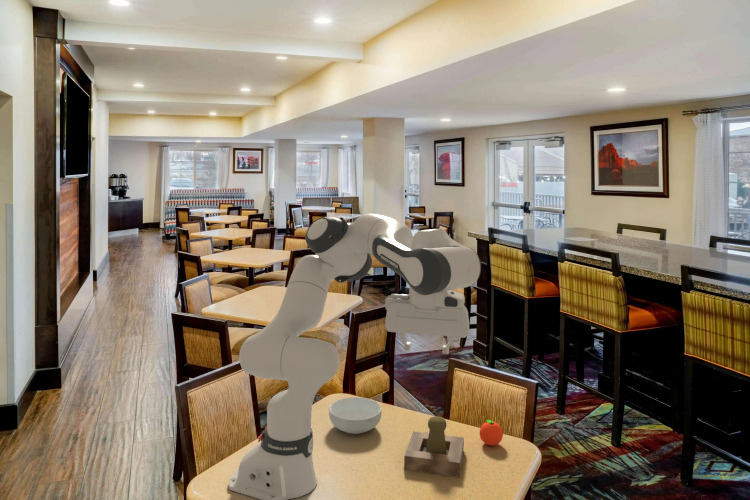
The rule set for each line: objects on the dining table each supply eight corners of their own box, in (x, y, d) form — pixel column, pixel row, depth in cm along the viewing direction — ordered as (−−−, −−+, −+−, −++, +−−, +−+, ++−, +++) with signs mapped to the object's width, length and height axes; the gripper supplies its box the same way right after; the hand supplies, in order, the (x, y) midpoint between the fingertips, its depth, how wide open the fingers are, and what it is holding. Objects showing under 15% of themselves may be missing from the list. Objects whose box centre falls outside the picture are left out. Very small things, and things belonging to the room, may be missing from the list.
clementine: (473, 439, 167) (474, 417, 166) (493, 436, 169) (493, 414, 168) (486, 451, 159) (487, 428, 158) (507, 448, 161) (508, 425, 160)
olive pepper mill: (446, 461, 150) (447, 423, 149) (424, 459, 151) (425, 421, 150) (447, 451, 156) (448, 414, 155) (426, 448, 157) (427, 412, 156)
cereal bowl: (324, 419, 178) (324, 399, 178) (373, 414, 183) (373, 394, 182) (334, 443, 162) (334, 421, 161) (387, 437, 167) (388, 415, 166)
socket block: (404, 469, 148) (404, 455, 148) (412, 444, 163) (413, 431, 162) (459, 477, 145) (459, 463, 144) (463, 450, 159) (463, 437, 159)
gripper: (382, 295, 130) (381, 351, 131) (469, 301, 125) (467, 359, 127) (388, 290, 136) (387, 344, 137) (470, 295, 131) (468, 351, 133)
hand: (426, 351), depth 132 cm, fingers open, 8 cm apart
